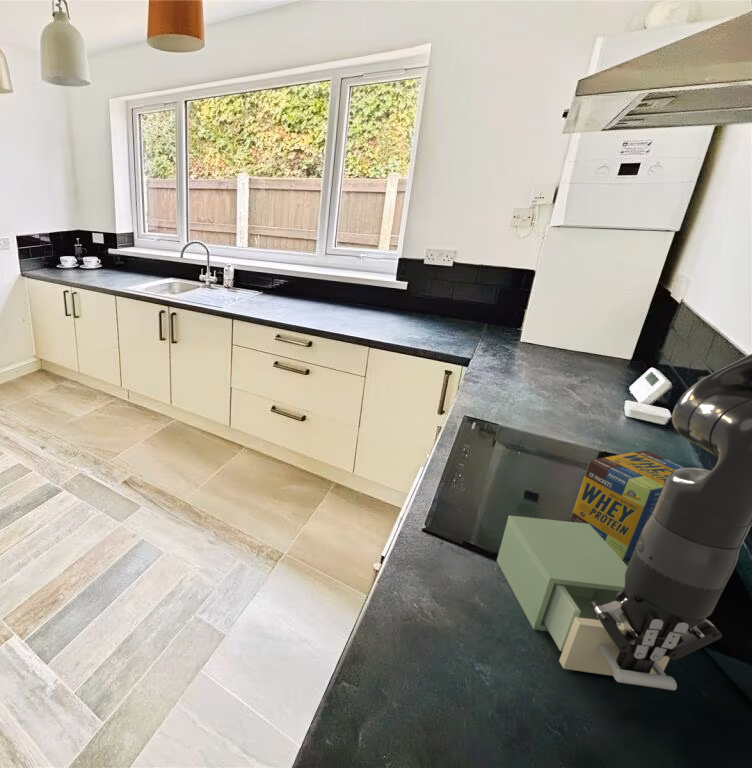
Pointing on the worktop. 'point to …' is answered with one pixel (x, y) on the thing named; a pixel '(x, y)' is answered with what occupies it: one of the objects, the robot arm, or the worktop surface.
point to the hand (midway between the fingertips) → (629, 673)
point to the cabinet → (555, 561)
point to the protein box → (621, 497)
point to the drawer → (593, 637)
